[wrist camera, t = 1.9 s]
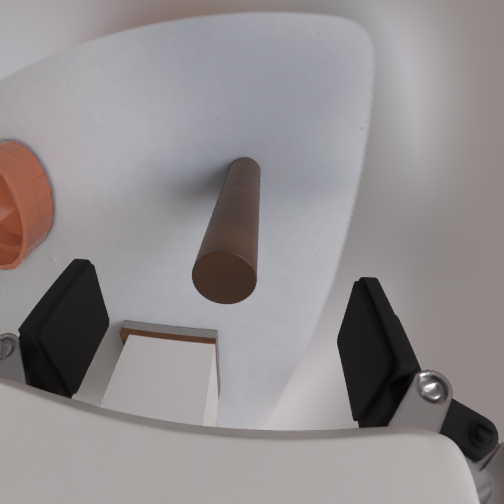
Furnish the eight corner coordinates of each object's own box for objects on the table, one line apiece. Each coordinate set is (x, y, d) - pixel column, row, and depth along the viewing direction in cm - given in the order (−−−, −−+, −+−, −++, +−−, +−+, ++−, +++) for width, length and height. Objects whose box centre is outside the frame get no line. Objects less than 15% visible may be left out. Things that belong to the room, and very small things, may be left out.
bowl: (-29, 180, 23) (-56, 197, 19) (17, 114, 20) (-18, 126, 16) (20, 260, 29) (-3, 284, 24) (75, 214, 25) (47, 239, 21)
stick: (223, 165, 23) (179, 266, 11) (251, 151, 22) (237, 241, 10) (238, 191, 24) (213, 312, 12) (265, 178, 23) (267, 292, 11)
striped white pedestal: (125, 320, 32) (34, 613, 2) (217, 330, 32) (175, 665, 2) (144, 378, 38) (91, 608, 8) (220, 388, 38) (194, 635, 8)
